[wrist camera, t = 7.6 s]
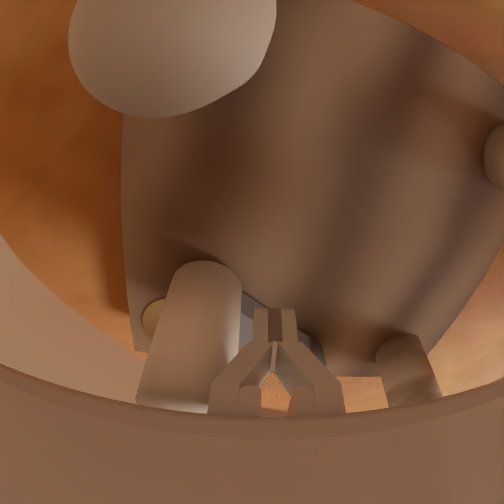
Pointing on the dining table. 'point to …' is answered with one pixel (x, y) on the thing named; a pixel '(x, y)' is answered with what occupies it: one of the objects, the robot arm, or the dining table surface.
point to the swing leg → (199, 337)
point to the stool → (302, 168)
